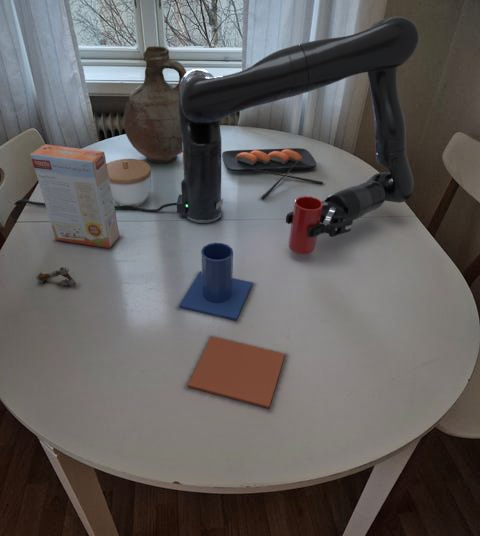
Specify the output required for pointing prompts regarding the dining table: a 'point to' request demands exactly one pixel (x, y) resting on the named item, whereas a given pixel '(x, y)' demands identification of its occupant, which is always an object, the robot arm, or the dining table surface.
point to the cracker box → (77, 194)
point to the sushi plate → (270, 161)
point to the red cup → (304, 224)
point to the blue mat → (224, 309)
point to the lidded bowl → (129, 181)
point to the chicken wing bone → (62, 271)
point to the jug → (155, 109)
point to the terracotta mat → (238, 371)
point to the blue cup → (217, 272)
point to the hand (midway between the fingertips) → (297, 226)
